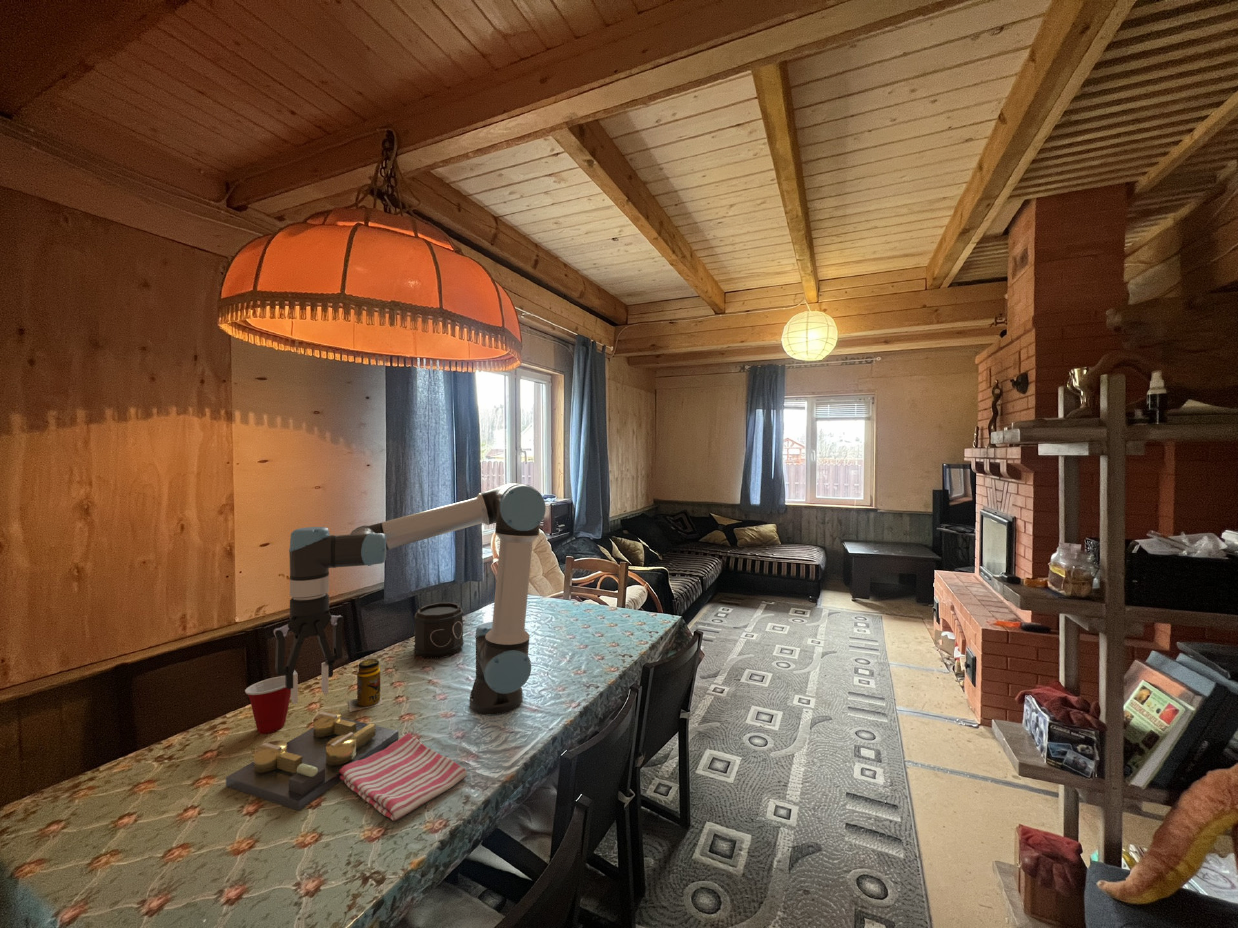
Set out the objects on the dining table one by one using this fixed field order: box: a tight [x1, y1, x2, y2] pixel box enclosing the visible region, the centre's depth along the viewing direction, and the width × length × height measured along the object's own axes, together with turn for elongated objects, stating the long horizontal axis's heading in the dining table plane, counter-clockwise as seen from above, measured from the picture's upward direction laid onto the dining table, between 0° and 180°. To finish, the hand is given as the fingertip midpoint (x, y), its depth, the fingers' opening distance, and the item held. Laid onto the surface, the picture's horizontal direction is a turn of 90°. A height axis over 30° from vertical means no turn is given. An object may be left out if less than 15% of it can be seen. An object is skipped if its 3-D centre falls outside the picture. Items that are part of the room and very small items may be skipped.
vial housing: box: [289, 764, 325, 795], centre depth 99 cm, size 5×5×4 cm
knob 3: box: [326, 723, 376, 765], centre depth 110 cm, size 12×6×4 cm, turn 161°
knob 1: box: [253, 739, 302, 773], centre depth 104 cm, size 12×6×4 cm, turn 71°
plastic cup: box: [244, 675, 291, 735], centre depth 124 cm, size 11×11×12 cm
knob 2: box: [312, 709, 356, 737], centre depth 118 cm, size 12×6×4 cm, turn 71°
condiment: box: [347, 658, 384, 713], centre depth 137 cm, size 7×8×12 cm
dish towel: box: [339, 732, 468, 821], centre depth 103 cm, size 17×23×4 cm
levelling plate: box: [225, 717, 399, 812], centre depth 110 cm, size 22×26×2 cm
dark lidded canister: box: [413, 602, 465, 660], centre depth 175 cm, size 18×18×16 cm
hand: (309, 696), depth 107 cm, fingers open, 5 cm apart
